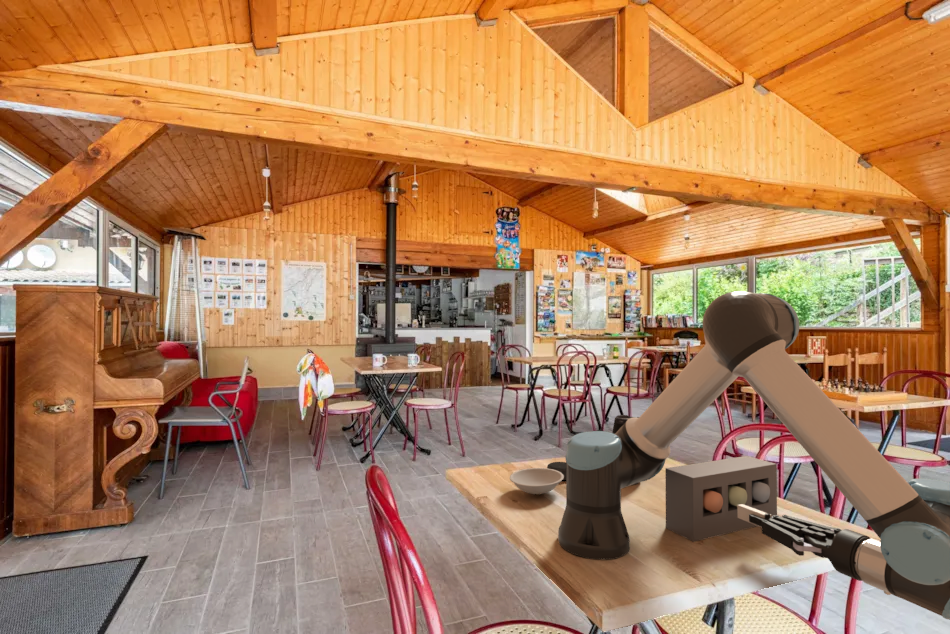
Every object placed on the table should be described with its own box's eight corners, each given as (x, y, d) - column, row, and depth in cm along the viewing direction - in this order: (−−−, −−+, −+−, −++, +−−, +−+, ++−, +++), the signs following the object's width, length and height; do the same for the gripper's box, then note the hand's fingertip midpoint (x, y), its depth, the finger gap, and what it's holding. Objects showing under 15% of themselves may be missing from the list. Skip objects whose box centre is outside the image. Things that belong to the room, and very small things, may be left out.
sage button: (734, 508, 110) (734, 489, 111) (711, 500, 116) (711, 481, 116) (747, 505, 112) (747, 486, 112) (724, 497, 118) (724, 479, 118)
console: (693, 541, 106) (693, 477, 107) (665, 527, 114) (665, 468, 114) (777, 521, 118) (776, 463, 118) (747, 510, 125) (746, 455, 125)
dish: (530, 481, 148) (530, 464, 148) (573, 490, 139) (573, 473, 139) (498, 497, 134) (498, 479, 134) (543, 509, 125) (543, 489, 125)
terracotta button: (709, 514, 107) (709, 494, 107) (687, 504, 113) (687, 486, 113) (723, 511, 109) (722, 491, 109) (701, 502, 115) (700, 483, 115)
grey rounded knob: (757, 503, 114) (757, 484, 114) (734, 495, 119) (734, 477, 119) (770, 501, 116) (770, 482, 116) (747, 493, 121) (747, 475, 121)
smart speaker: (578, 475, 154) (578, 463, 154) (571, 484, 146) (571, 470, 146) (551, 472, 158) (551, 459, 158) (543, 479, 150) (543, 466, 150)
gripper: (843, 590, 79) (718, 533, 100) (888, 574, 84) (760, 523, 105) (843, 544, 79) (718, 497, 100) (888, 530, 84) (760, 489, 106)
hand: (739, 510), depth 103 cm, fingers closed
